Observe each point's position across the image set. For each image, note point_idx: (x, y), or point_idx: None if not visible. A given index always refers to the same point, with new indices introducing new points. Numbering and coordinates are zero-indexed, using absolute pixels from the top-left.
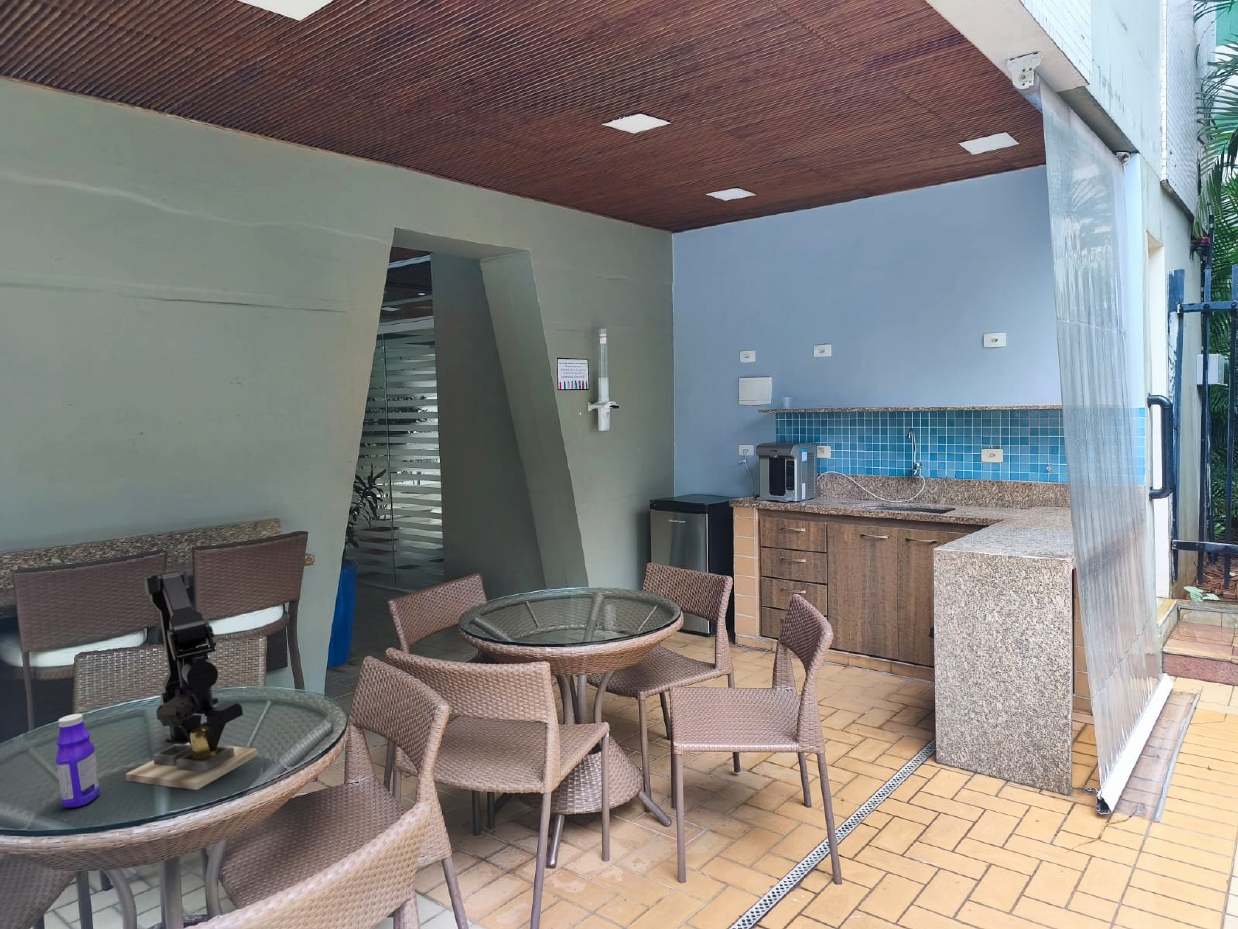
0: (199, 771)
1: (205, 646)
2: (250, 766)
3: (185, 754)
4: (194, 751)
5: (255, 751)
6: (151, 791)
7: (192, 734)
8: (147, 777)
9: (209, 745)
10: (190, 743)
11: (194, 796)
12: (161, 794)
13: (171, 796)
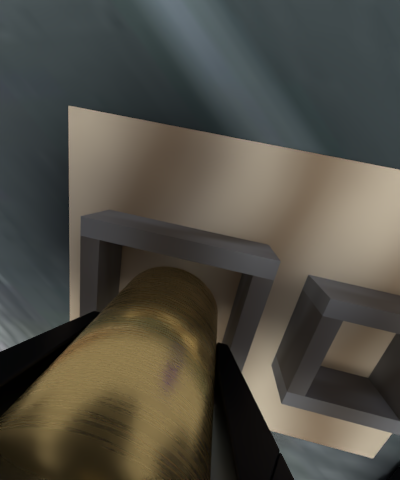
0: (137, 216)
1: None
2: (49, 294)
3: (295, 346)
4: (166, 298)
5: None
6: (300, 95)
7: (85, 441)
8: (391, 169)
9: (68, 334)
10: (237, 378)
11: (56, 58)
12: (225, 66)
13: (160, 49)
